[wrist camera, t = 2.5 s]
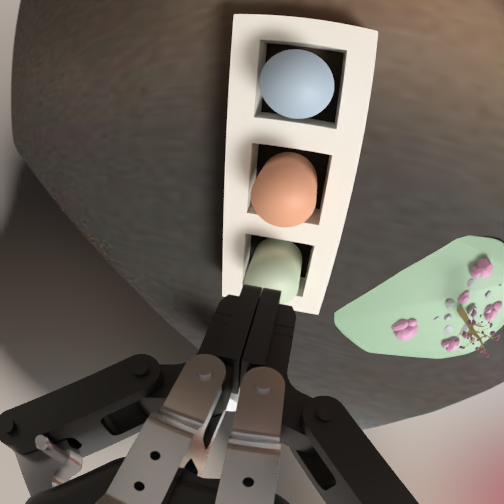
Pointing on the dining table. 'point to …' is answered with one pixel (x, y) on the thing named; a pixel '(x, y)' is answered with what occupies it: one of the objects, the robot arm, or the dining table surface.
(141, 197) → the dining table surface
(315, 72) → the light blue rounded dome
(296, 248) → the pale green rounded dome
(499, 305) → the plant
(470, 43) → the dining table surface
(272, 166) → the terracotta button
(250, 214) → the button board
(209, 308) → the dining table surface
